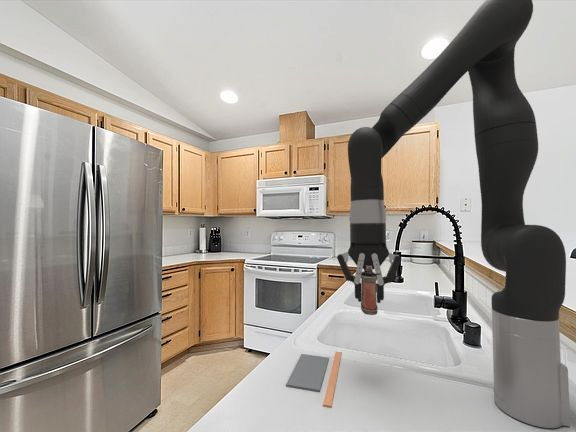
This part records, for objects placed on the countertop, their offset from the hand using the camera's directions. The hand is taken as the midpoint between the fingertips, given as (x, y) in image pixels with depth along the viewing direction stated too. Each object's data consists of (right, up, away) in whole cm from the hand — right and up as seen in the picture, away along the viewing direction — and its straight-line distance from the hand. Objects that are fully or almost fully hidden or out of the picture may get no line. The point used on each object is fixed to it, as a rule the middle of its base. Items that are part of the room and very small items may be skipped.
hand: (369, 301), depth 59 cm
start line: (-7, -17, +1) cm, 18 cm away
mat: (-13, -17, +3) cm, 21 cm away
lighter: (0, -2, 0) cm, 2 cm away
